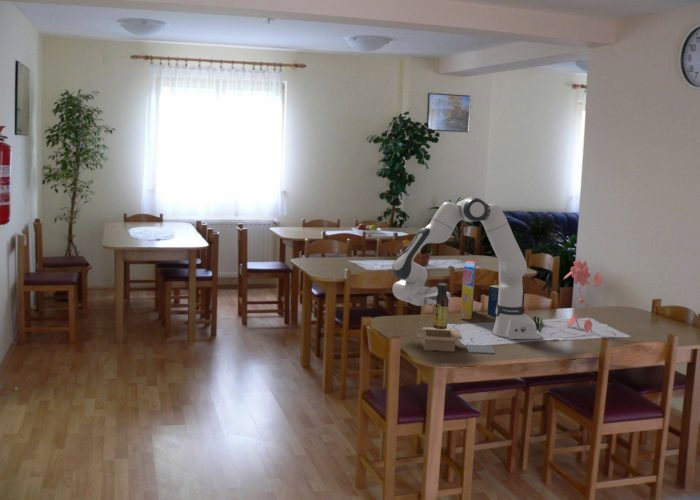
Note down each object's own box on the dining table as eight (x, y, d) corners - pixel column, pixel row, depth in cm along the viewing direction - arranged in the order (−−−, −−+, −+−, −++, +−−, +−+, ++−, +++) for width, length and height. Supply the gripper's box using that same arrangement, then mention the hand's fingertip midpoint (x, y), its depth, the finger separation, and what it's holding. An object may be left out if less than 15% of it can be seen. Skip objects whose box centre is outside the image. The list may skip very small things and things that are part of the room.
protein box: (498, 312, 397) (500, 283, 395) (523, 318, 386) (525, 288, 383) (486, 314, 390) (488, 285, 388) (511, 320, 379) (513, 291, 376)
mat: (490, 346, 329) (490, 345, 329) (494, 354, 319) (494, 352, 318) (465, 345, 330) (465, 344, 330) (468, 352, 319) (468, 351, 319)
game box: (471, 320, 377) (474, 267, 373) (460, 319, 378) (463, 266, 374) (472, 311, 397) (476, 260, 393) (462, 310, 398) (465, 260, 394)
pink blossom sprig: (568, 322, 379) (573, 254, 373) (605, 335, 356) (611, 263, 350) (544, 325, 372) (549, 256, 367) (581, 339, 350) (586, 266, 344)
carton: (457, 341, 336) (458, 328, 335) (462, 353, 317) (463, 340, 316) (415, 339, 336) (416, 326, 335) (417, 351, 318) (418, 338, 317)
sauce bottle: (431, 326, 328) (433, 282, 325) (445, 326, 329) (447, 282, 326) (434, 330, 322) (436, 285, 319) (448, 330, 323) (451, 285, 319)
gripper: (403, 291, 327) (425, 297, 316) (437, 286, 339) (459, 291, 329) (403, 305, 328) (425, 311, 317) (436, 299, 340) (458, 305, 329)
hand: (442, 301), depth 323 cm, fingers closed on sauce bottle, 6 cm apart
